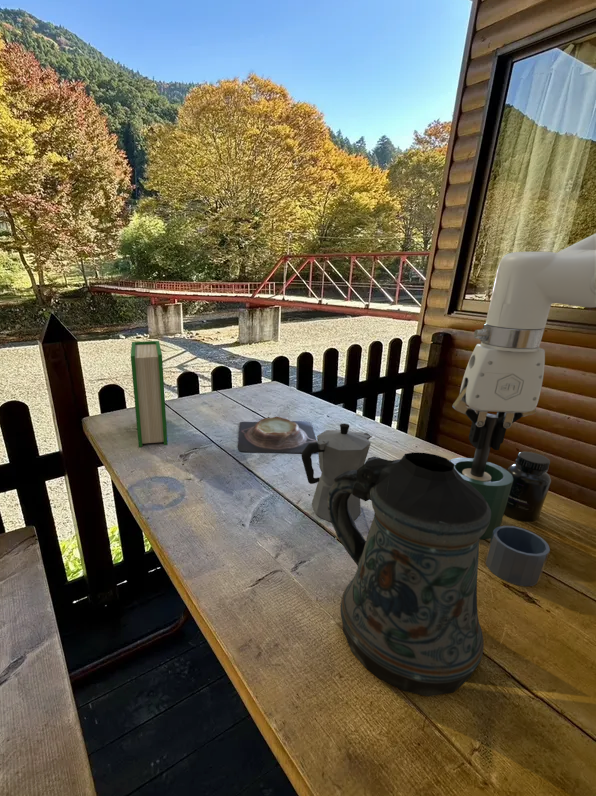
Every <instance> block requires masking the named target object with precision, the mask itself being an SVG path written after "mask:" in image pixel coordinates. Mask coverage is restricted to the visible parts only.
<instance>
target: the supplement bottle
mask: <svg viewBox="0 0 596 796" xmlns="http://www.w3.org/2000/svg"><path fill="white" fill-rule="evenodd" d="M514 462H515V463H513V464H511V465H509V466H508V467H506V470H507V471H508V472H509V473H510V474H511V475H512V477H513V483H512V486H511V490H510V494H509V497H508V501H507V504H506V508H505V511H504V515H503V516H505V517H507V518H510V519H513V520H515V521H519V522H523V523H524V522H525V523H532V522H536V521H538V520H539V518H540V515H541V513H542V510H543V506H544V503H545V502H546V498H547V495H548V492H549V489H550V486H551V483H552V478H551V476H550V474H549V473H548V471H549V468H550V465H551V460H550V458H548V457H546V456H545V455H543V454H539V453H536V452H532V451H520V452H518V453H517V456H516V459H515V461H514Z"/></svg>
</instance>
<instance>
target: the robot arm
mask: <svg viewBox="0 0 596 796" xmlns="http://www.w3.org/2000/svg"><path fill="white" fill-rule="evenodd" d="M553 304H560V305H568V306H575V307H581V308H590V309H591V308H596V233H593V234H592V235H589V236H587V237H585V238H583V239H581V240H579V241H577V242H575V243H573V244H571V245H569V246H567V247H565V248H563V249H561V250H559V251H557V252H554V251H553V252H552V251H514V252H513V251H512V252H508V253H506V254H505V255H503V257H501V259H500V260H499V263H498V266H497V270H496V275H495V279H494V284H493V289H492V292H491V297H490V301H489V306H488V311H487V315H486V320H485V324H483V327H482V328H480V329H475V330H474V332H473V338H474V339H479V340H480V343H476V345H475V347H474V349H473V351H472V353H471V355H470V357H469V360H468V363H467V366H466V368H465V371H464V374H463V377H462V381H461V385H460V389H459V394H458V396H457V398H456V399H455V401H454V402H453V404H452V406H451V407H452V409H454V410H455V411H456V412H458V413H461V414H463V415H465V416H466V417H467V418H468V419H469V420H470V421H471V425H470V430H469V434H468V441H469V443H470V444H471V445H472V446H473V447H474V448H475V450H476V449H482V447H483V443H484V439H485V435H486V431H487V428H486V427H485V426H484V424H485V420H486V416H487V414H488V412H496V415H497V416H498V421H497V425H496V429H495V433H494V437H493V441H492V445H491V448H490V449H492V450H494V451H499V450H500V448H501V445H502V444H503V442H504V439H505V436H506V432H507V429H511V427H512V425H513V424H514V423H515V422H517V421H518V420H520V419H521V418H524V417H529V416H532V415H534V414H536V412H537V409H536V408H537V406H538V404H539V400H540V396H541V391H542V387H543V381H544V374H545V367H546V366H545V365H546V364H545V363H546V350H545V349H544V348H542V347H540V346H541V343H542V339H543V336H544V332H545V328H546V325H547V321H548V318H549V314H550V310H551V307H552V305H553Z"/></svg>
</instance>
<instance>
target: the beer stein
mask: <svg viewBox="0 0 596 796" xmlns="http://www.w3.org/2000/svg"><path fill="white" fill-rule="evenodd" d="M449 460H450V459H448V458H446V457H444V456H440V455H439V454H433V453H429V452H408V453H405V454H404V455H403V456H402V457H401V458H399V459H392V460H391V459H390V460H389V459H386V458H381V457H378V456H371V457H368V458H367V459H366V460H365V463H364V465H363V466H362V467H360V468H359V469H358V470H352V471H347V472H344V473H342V474H340V475H338V476H337V477H336V478H335V479H334V481H335V482H334V484H333V485H332V487H331V488H330V491H329V494H328V512H329V516H330V520H331V525H332V527H333V530H334V532H335V534H336V537H337V538H338V540H339V541H340V543H341V545H342V547H343V548H344V550H345V551H346V552H347V554H348V555H349V557H350V559H352V560H353V562H354V563H355V564H356V565H357V569H356V571H355V574H354V575H353V578H352V579H351V580H350V581H349V583H348V584H347V586H346V587H345V589H344V591H343V593H342V595H341V601H340V617H341V622H342V632H343V635H344V637H345V639H346V642H347V644H348V647H349V649H350V651H351V653H352V654H353V656H355V658H356V659H357V660H358V661H359V662H360V663H361V665H362V666H363V667H364V668H365V669H366V670H368V671H369V672H370V673H371V674H373V676H375V677H376V678H378V679H380V680H381V681H383V682H385V683H387V684H389V685H391V686H393V687H395V688H397V689H399V690H400V691H403V692H406V693H411V694H415V695H420V696H424V697H434V696H442V695H447V694H453V693H455V692H456V691H457V690H458V689H459V688H460V687H462V686H463V685H464V684H465V683H466V682H467V681H468V680H469V679H471V678H472V675H473V673H474V671H475V670H476V669H477V667H478V666H479V664H480V663H481V661H482V658H483V654H484V649H485V645H484V634H483V630H482V626H481V624H480V621H479V614H478V574H479V573H478V571H479V557H480V556H479V554H480V551H479V550H480V539H479V538H480V537H481V536H482V535H483V534H484V533H485V531H486V529H487V527H488V526H489V524H490V519H491V510H490V507H489V505H488V503H487V502H486V500H485V499H484V497H483V496H482V495H481V494H480V493H479V492H478V491H477V490H476V489H475V488H474V487H473V486H472V485H471V484H469V483H468V482H466V481H465V480H464V479H463V478H462V477H461V476H460V475H459V473H458V472H457V471H456V470H455V469H454V464H453V463H452V462H451V461H449ZM351 494H352V495H354V496H355V497H357V498H360V500H362V501H364V502H368V501H370V502H371V505H372V509H373V512H374V514H373V518H372V521H371V524H370V527H369V530H368V534H367V536H366V539H365V538H364V536H363V534H362V533H361V531H360V530H359V529H358V527H357V525H356V523H355V520H354V521H353V519H352V517H351V514H350V512H349V509H348V499H349V497H350V495H351Z"/></svg>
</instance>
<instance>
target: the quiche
mask: <svg viewBox="0 0 596 796" xmlns="http://www.w3.org/2000/svg"><path fill="white" fill-rule="evenodd" d="M237 439H238V440H237V450H238V451H239V452H245V453H247V452H249V453H283V454H284V453H286V454H287V453H288V454H289V453H301V454H302V452H303V450H304V449H305V448H306V446H307V445H308V444H309V443H314V442H315V441H317V436H316V435H315V431H314V428H313V425H312V423H311V421H307V420H306V421H305V420H304V421H303V420H290V419H287V418H284V417H281V416H274V417H265V418H261V419H260V420H258V421H240V422H239V425H238V437H237Z"/></svg>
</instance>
